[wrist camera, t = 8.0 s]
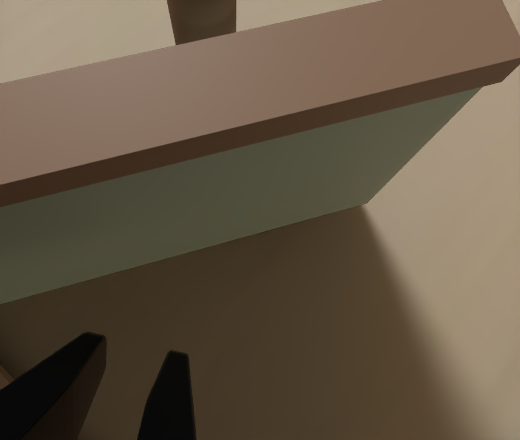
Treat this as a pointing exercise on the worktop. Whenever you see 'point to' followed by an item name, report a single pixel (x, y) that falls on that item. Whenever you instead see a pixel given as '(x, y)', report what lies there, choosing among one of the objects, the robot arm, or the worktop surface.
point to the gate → (230, 133)
